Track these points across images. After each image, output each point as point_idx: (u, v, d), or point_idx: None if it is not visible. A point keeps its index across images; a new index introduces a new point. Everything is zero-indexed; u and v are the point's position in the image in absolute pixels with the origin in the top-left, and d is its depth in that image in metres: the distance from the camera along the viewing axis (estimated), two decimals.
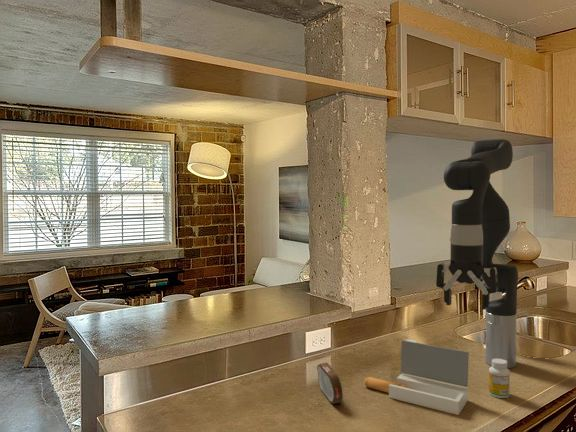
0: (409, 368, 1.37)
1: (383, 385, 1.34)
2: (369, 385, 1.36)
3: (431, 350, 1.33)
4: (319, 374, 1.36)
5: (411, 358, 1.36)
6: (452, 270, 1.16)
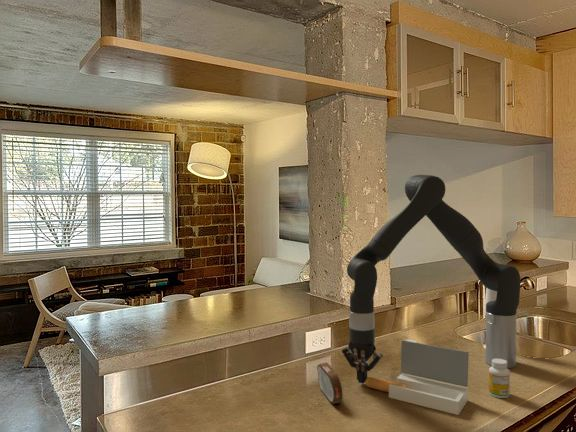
0: (409, 368, 1.37)
1: (385, 385, 1.34)
2: (370, 385, 1.36)
3: (431, 350, 1.33)
4: (319, 374, 1.36)
5: (411, 358, 1.36)
6: (352, 348, 1.39)
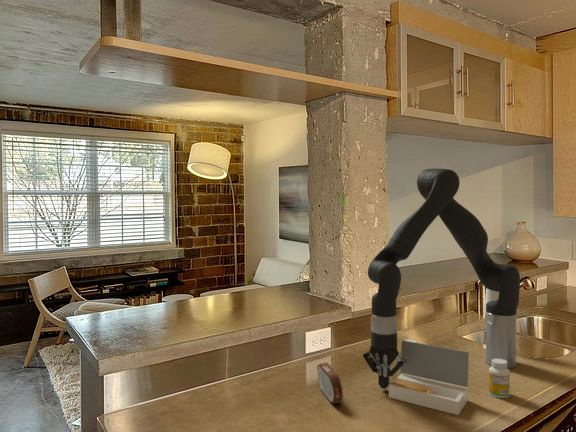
0: (409, 368, 1.37)
1: None
2: None
3: (431, 350, 1.33)
4: (319, 374, 1.36)
5: (411, 358, 1.36)
6: (373, 352, 1.35)
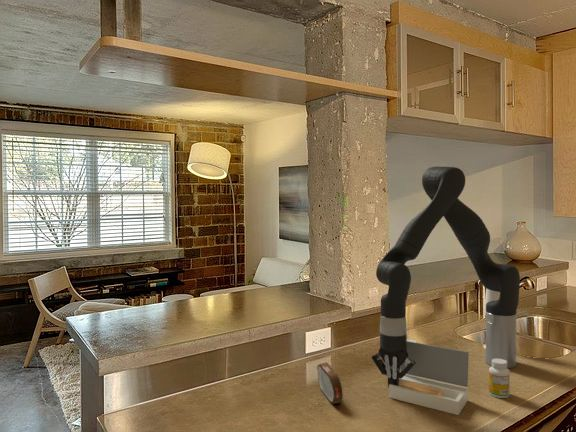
0: None
1: None
2: None
3: (431, 350, 1.33)
4: (319, 374, 1.36)
5: (411, 358, 1.36)
6: (382, 354, 1.34)
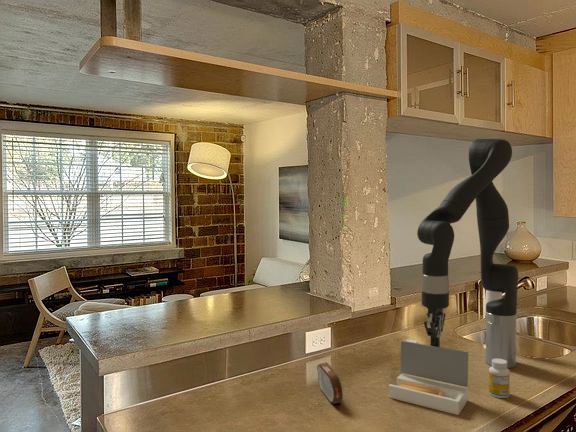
0: (409, 368, 1.36)
1: None
2: None
3: (431, 350, 1.33)
4: (319, 374, 1.36)
5: (411, 358, 1.36)
6: None
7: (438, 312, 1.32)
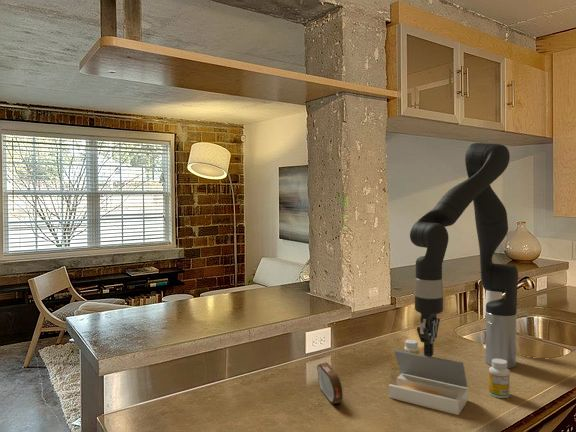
0: (408, 371, 1.36)
1: None
2: None
3: (426, 360, 1.29)
4: (319, 374, 1.36)
5: (408, 364, 1.34)
6: None
7: (432, 317, 1.28)
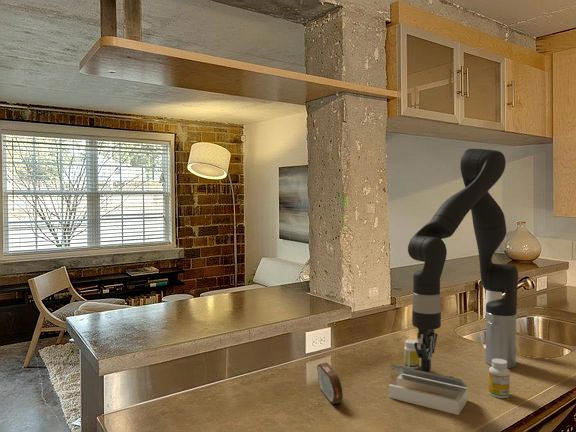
0: (407, 373, 1.35)
1: None
2: None
3: (422, 374, 1.27)
4: (319, 374, 1.36)
5: (406, 372, 1.33)
6: None
7: (429, 333, 1.26)
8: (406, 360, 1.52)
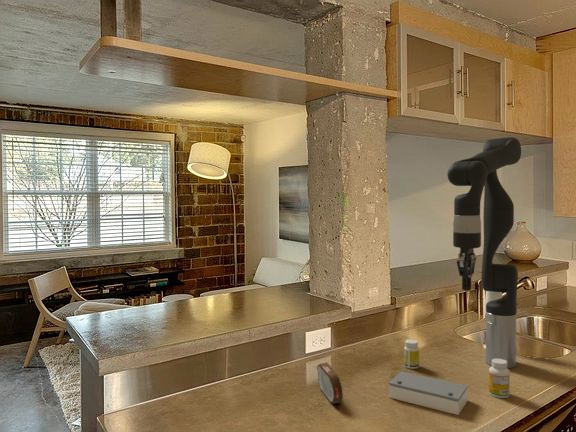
0: None
1: None
2: None
3: None
4: (319, 374, 1.36)
5: None
6: None
7: (470, 252, 1.33)
8: (406, 360, 1.52)
